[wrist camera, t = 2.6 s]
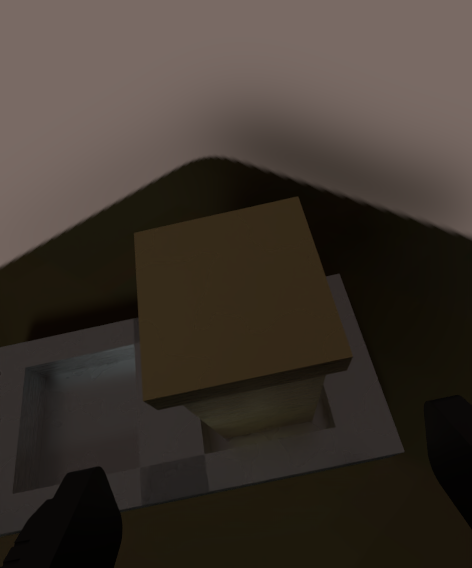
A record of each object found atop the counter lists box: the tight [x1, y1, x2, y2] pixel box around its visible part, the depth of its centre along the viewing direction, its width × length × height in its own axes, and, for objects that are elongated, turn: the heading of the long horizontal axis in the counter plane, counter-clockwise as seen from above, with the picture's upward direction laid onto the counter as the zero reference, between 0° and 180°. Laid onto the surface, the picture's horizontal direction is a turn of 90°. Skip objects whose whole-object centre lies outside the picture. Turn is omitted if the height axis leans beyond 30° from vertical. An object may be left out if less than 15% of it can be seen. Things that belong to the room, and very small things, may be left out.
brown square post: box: [134, 196, 353, 439], centre depth 15 cm, size 5×5×11 cm
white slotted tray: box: [0, 274, 404, 537], centre depth 20 cm, size 20×9×3 cm, turn 100°
